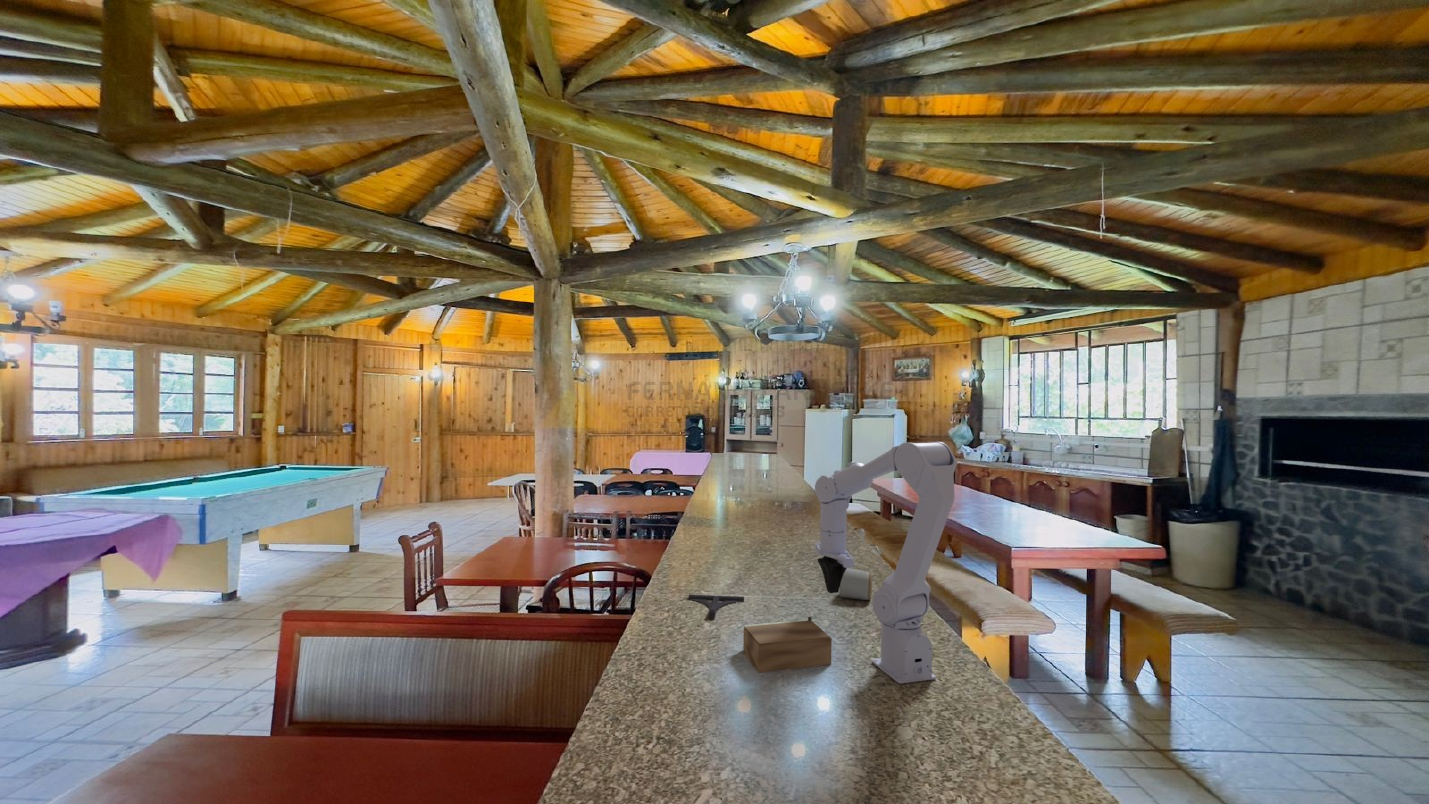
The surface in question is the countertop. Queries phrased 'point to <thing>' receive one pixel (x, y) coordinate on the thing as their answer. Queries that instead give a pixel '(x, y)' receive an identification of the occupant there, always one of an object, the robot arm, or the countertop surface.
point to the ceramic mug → (856, 584)
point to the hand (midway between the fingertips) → (832, 591)
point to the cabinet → (786, 646)
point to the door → (774, 623)
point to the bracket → (715, 602)
